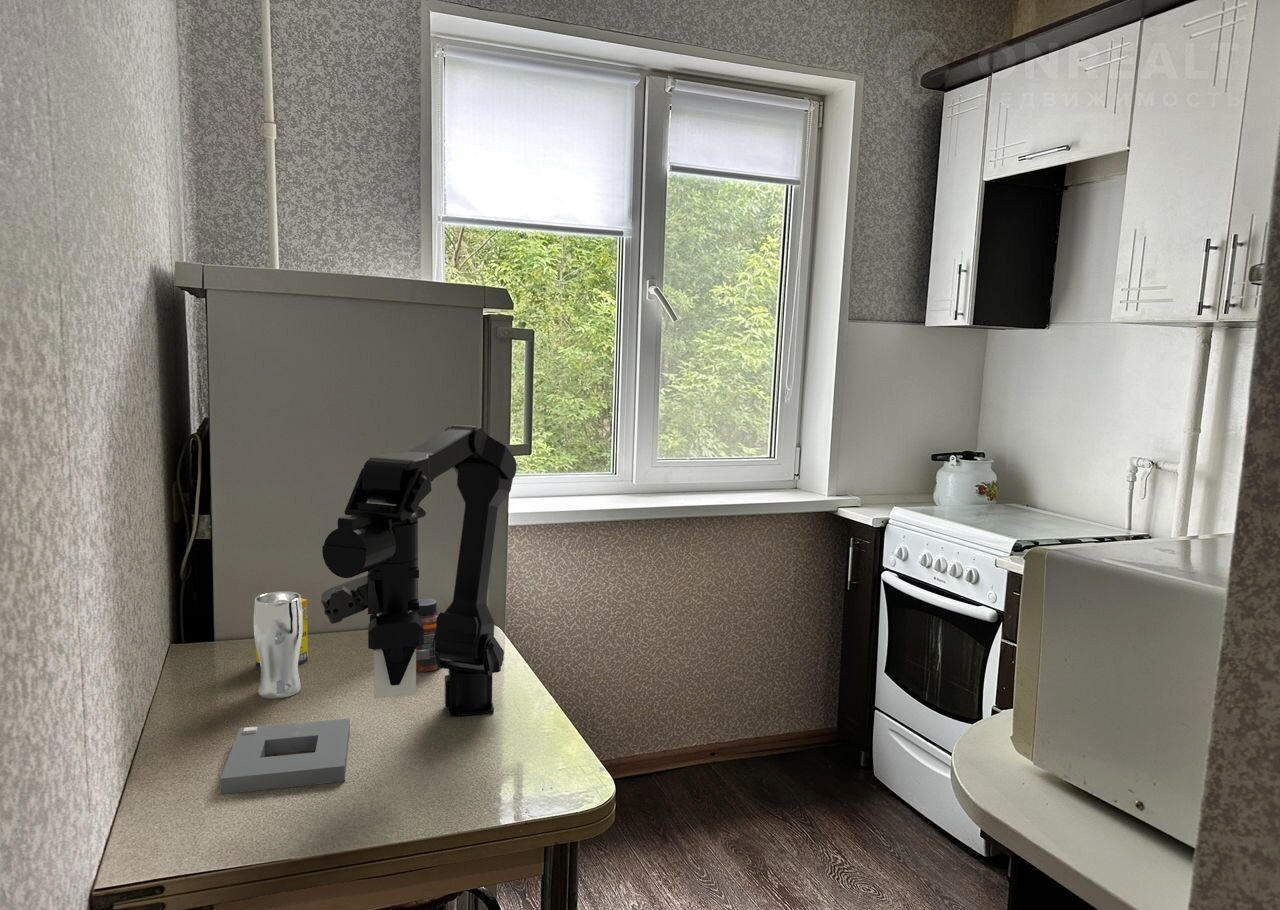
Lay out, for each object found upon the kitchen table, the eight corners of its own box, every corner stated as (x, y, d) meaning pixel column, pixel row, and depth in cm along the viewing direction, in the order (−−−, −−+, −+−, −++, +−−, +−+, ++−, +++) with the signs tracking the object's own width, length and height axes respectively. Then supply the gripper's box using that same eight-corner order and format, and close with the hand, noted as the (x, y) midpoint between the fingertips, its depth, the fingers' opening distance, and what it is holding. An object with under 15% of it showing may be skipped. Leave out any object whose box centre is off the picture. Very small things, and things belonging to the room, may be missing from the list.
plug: (428, 682, 110) (428, 638, 110) (429, 693, 107) (430, 647, 106) (374, 687, 108) (373, 641, 108) (374, 698, 105) (373, 651, 104)
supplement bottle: (450, 665, 144) (450, 600, 143) (423, 676, 139) (424, 609, 138) (425, 657, 148) (425, 594, 146) (398, 667, 143) (398, 602, 141)
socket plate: (349, 732, 119) (349, 715, 118) (344, 781, 105) (344, 762, 105) (240, 741, 115) (239, 725, 114) (220, 794, 101) (220, 775, 101)
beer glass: (286, 702, 128) (284, 605, 126) (245, 697, 129) (242, 601, 127) (313, 685, 134) (311, 593, 133) (273, 680, 136) (271, 589, 134)
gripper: (328, 543, 112) (330, 658, 114) (320, 581, 94) (322, 716, 96) (416, 540, 115) (416, 651, 117) (424, 576, 97) (424, 706, 99)
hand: (394, 679), depth 107 cm, fingers closed on plug, 3 cm apart
